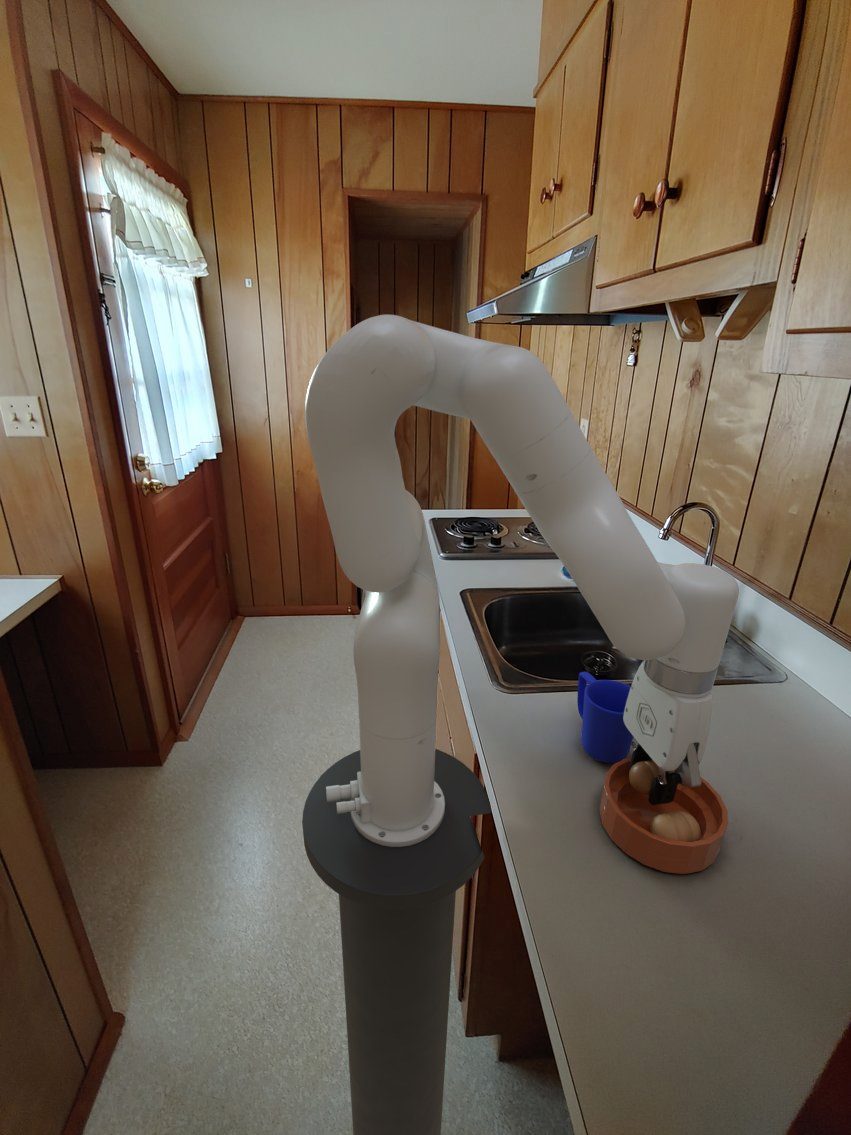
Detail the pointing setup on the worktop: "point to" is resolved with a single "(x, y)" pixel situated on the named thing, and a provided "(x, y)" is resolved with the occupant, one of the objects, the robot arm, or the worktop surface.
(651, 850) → the bowl
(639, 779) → the egg dark
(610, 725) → the mug
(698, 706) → the robot arm
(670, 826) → the egg light
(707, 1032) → the worktop surface
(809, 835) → the worktop surface
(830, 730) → the worktop surface
